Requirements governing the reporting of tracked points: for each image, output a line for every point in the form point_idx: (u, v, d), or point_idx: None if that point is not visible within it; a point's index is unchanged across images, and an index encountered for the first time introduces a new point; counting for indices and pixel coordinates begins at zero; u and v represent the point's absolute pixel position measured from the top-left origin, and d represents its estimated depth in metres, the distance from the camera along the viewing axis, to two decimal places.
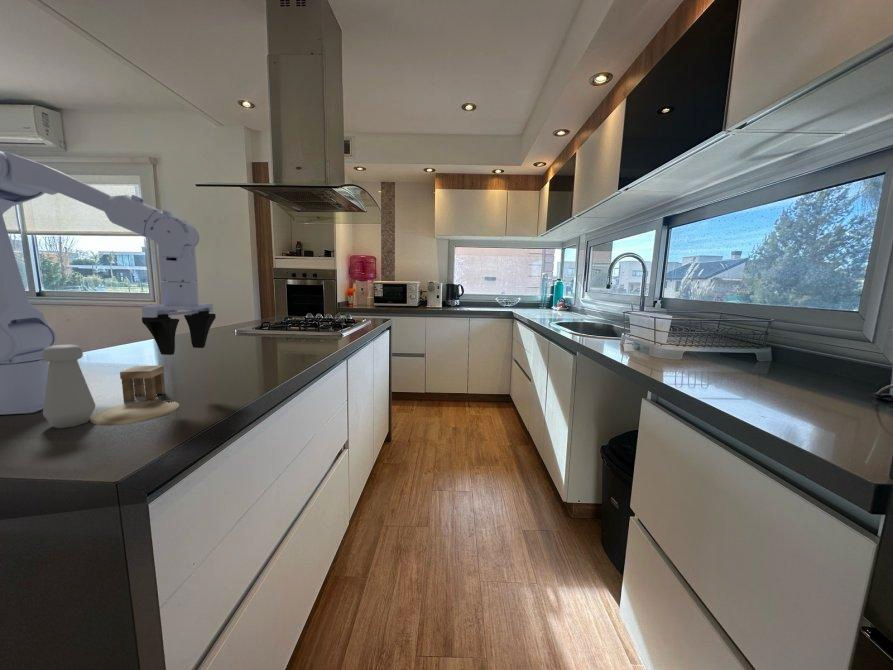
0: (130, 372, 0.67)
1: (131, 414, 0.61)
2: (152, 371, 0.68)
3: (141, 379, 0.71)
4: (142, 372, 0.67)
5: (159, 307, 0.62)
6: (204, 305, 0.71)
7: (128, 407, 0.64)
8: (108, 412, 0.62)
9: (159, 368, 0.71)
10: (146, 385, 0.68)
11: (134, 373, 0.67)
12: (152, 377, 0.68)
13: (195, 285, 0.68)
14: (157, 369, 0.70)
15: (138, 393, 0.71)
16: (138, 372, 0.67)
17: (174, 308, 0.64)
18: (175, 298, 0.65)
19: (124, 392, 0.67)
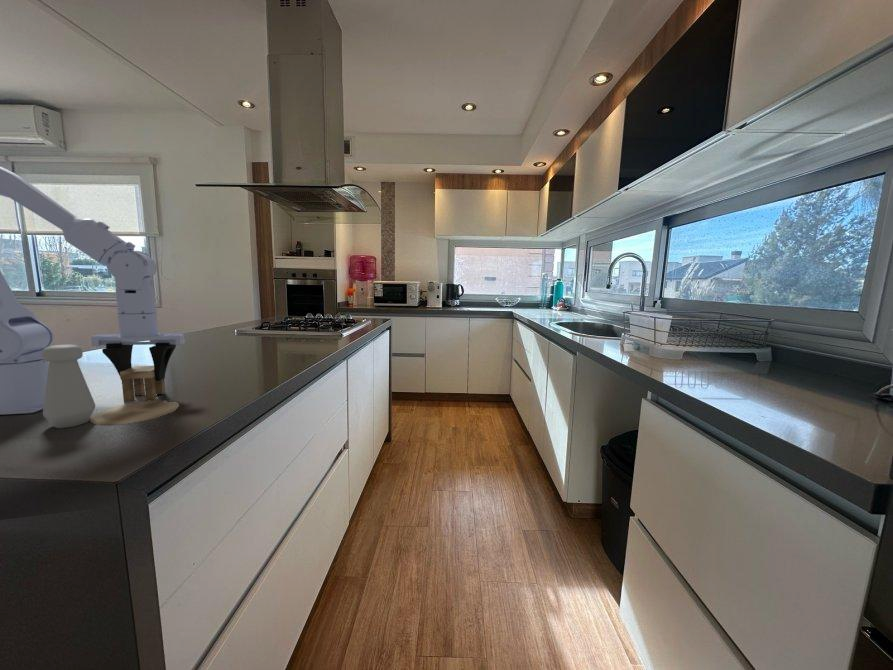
0: (130, 372, 0.67)
1: (131, 414, 0.61)
2: (152, 371, 0.68)
3: (141, 379, 0.71)
4: (142, 372, 0.67)
5: (99, 337, 0.66)
6: (156, 337, 0.68)
7: (128, 407, 0.64)
8: (108, 412, 0.62)
9: None
10: (146, 385, 0.68)
11: (134, 373, 0.67)
12: (152, 377, 0.68)
13: (133, 316, 0.65)
14: None
15: (138, 393, 0.71)
16: (138, 372, 0.67)
17: (111, 339, 0.66)
18: (119, 329, 0.66)
19: (124, 392, 0.67)
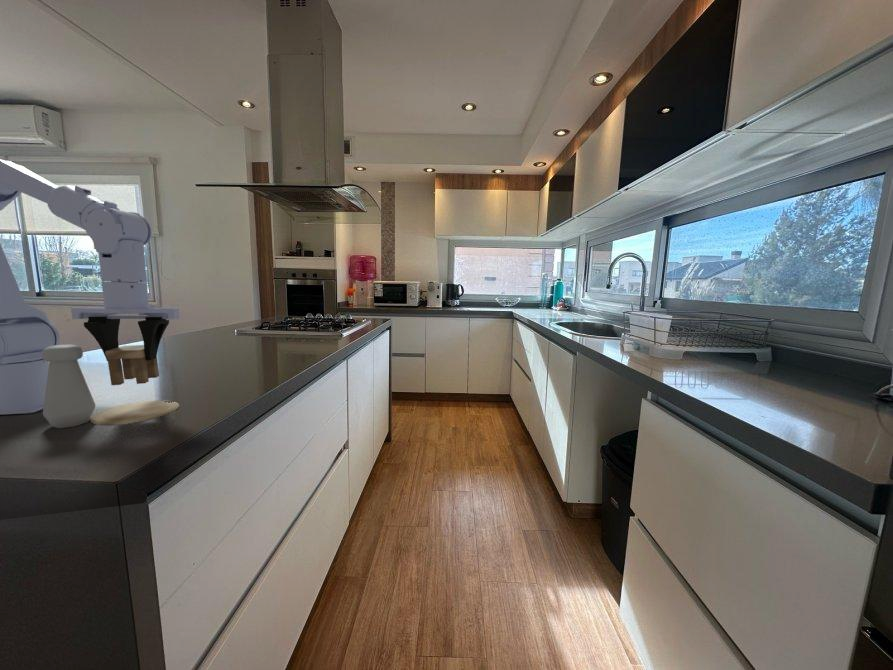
0: (117, 351, 0.59)
1: (131, 414, 0.61)
2: (142, 350, 0.60)
3: (131, 360, 0.63)
4: (131, 351, 0.59)
5: (80, 308, 0.57)
6: (146, 310, 0.59)
7: (128, 407, 0.64)
8: (108, 412, 0.62)
9: None
10: (136, 366, 0.60)
11: (122, 352, 0.59)
12: (143, 357, 0.60)
13: (119, 285, 0.57)
14: None
15: (128, 376, 0.63)
16: (126, 351, 0.59)
17: (93, 311, 0.57)
18: None
19: (111, 374, 0.59)
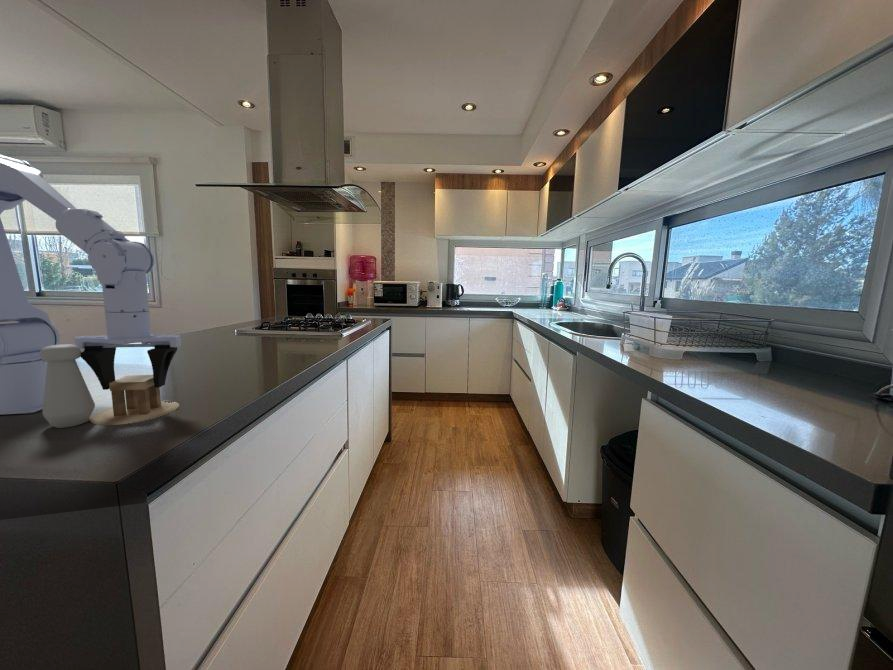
0: (121, 383, 0.59)
1: (131, 414, 0.61)
2: (146, 382, 0.61)
3: (134, 390, 0.63)
4: (134, 383, 0.60)
5: (83, 338, 0.58)
6: (149, 338, 0.60)
7: None
8: (108, 412, 0.62)
9: None
10: (139, 397, 0.60)
11: (125, 384, 0.59)
12: (146, 388, 0.61)
13: (122, 315, 0.58)
14: (152, 379, 0.63)
15: (130, 406, 0.63)
16: (130, 383, 0.60)
17: (97, 340, 0.58)
18: None
19: (114, 405, 0.60)
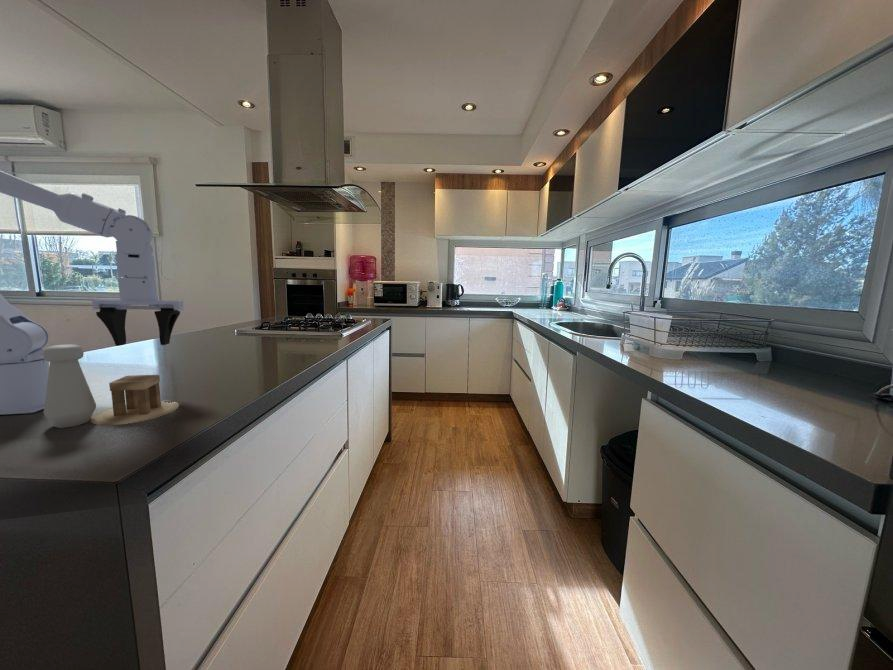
0: (121, 383, 0.59)
1: (131, 414, 0.61)
2: (146, 382, 0.61)
3: (134, 390, 0.63)
4: (134, 383, 0.60)
5: (99, 300, 0.68)
6: (156, 301, 0.69)
7: None
8: (108, 412, 0.62)
9: (154, 378, 0.63)
10: (139, 397, 0.60)
11: (125, 384, 0.59)
12: (146, 388, 0.61)
13: (132, 280, 0.67)
14: (152, 379, 0.63)
15: (130, 406, 0.63)
16: (130, 383, 0.60)
17: (111, 302, 0.67)
18: (119, 293, 0.68)
19: (114, 405, 0.60)
